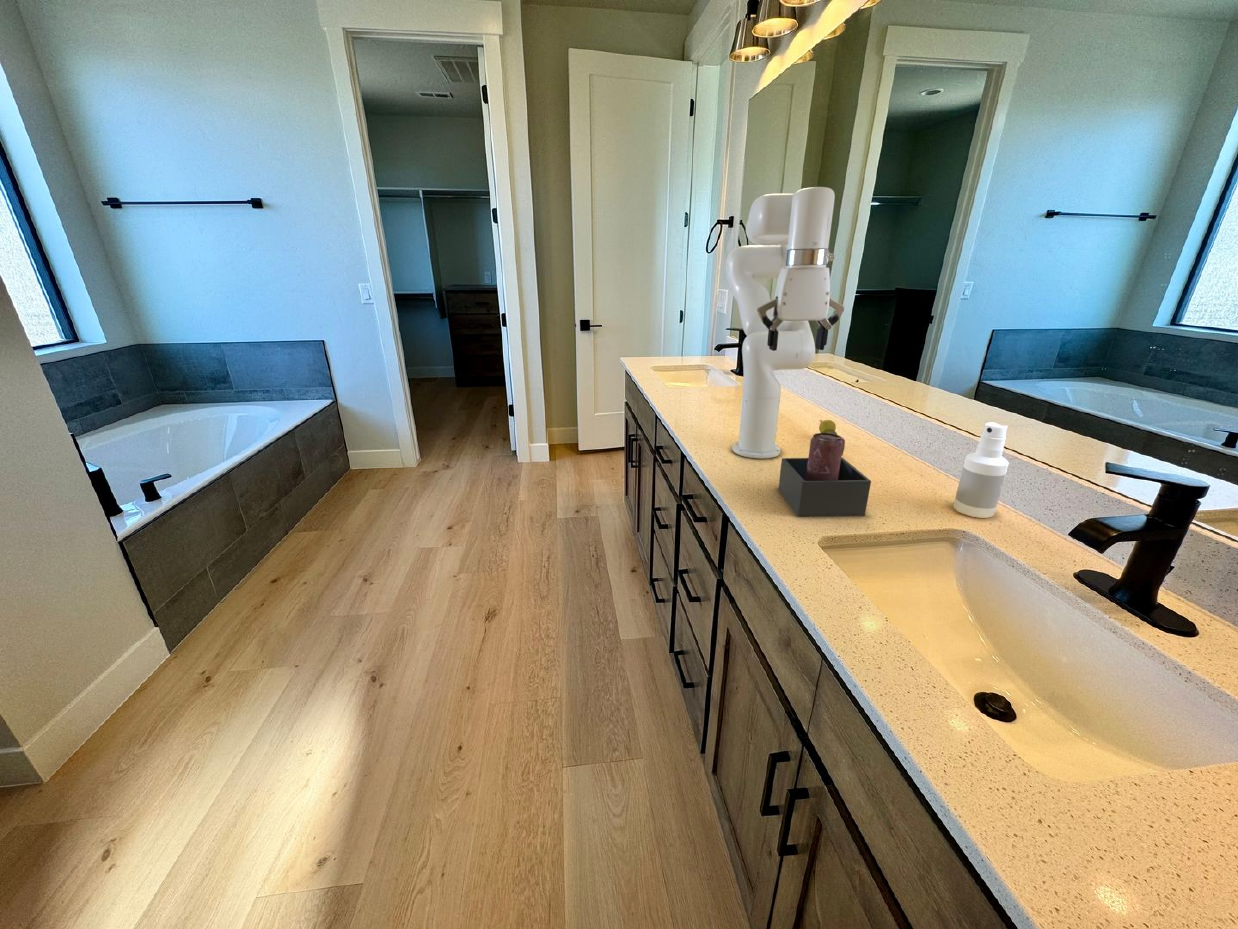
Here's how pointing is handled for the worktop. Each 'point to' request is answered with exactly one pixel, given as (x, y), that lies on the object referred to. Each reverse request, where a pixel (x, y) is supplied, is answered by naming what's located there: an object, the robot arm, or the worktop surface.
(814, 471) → the can
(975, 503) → the spray bottle
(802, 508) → the bin
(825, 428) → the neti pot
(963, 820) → the worktop surface
